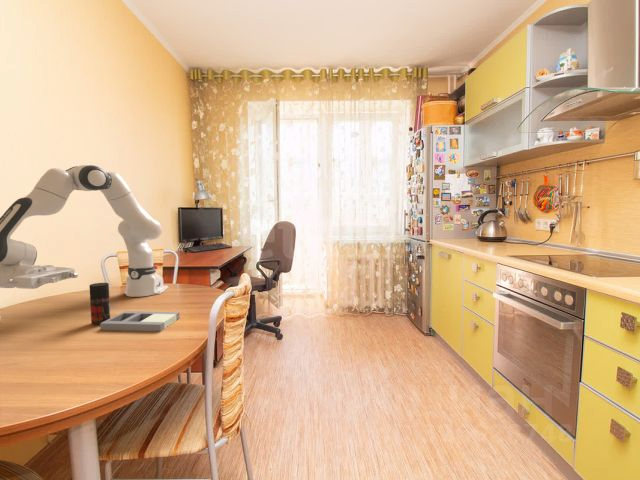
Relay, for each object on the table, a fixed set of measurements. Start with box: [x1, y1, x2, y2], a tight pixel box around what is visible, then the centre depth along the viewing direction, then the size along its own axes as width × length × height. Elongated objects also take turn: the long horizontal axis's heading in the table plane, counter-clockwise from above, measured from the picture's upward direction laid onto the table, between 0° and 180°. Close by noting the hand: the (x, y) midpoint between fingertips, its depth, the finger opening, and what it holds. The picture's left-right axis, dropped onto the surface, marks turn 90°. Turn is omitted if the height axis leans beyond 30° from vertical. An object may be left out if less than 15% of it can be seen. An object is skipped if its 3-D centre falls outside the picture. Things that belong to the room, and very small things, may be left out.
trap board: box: [99, 310, 180, 332], centre depth 120 cm, size 14×22×2 cm, turn 88°
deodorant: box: [89, 282, 111, 327], centre depth 120 cm, size 6×6×15 cm
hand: (66, 277), depth 119 cm, fingers open, 8 cm apart
